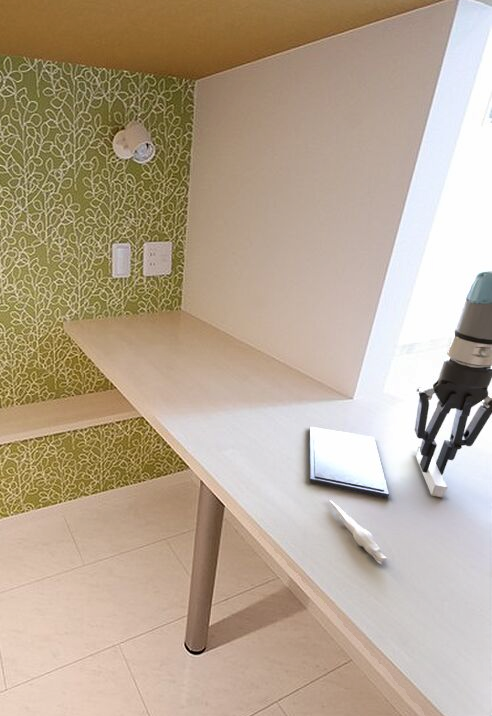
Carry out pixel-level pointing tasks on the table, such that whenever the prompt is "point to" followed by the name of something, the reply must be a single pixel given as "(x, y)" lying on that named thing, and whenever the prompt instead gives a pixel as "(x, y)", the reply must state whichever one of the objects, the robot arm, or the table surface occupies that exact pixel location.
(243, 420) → the table surface
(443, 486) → the white rectangular bar
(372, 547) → the white tapered piece
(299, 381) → the table surface
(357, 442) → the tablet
